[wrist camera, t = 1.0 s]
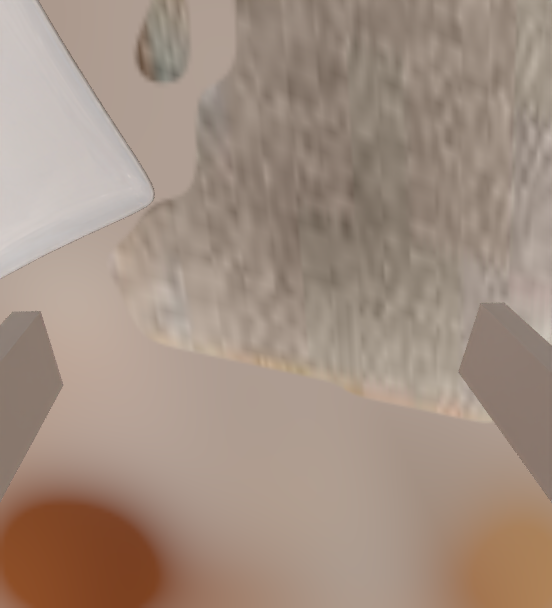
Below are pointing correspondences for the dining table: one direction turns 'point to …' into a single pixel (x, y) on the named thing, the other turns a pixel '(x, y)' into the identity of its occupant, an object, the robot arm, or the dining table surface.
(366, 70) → the dining table surface
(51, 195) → the salad plate
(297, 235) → the dining table surface
